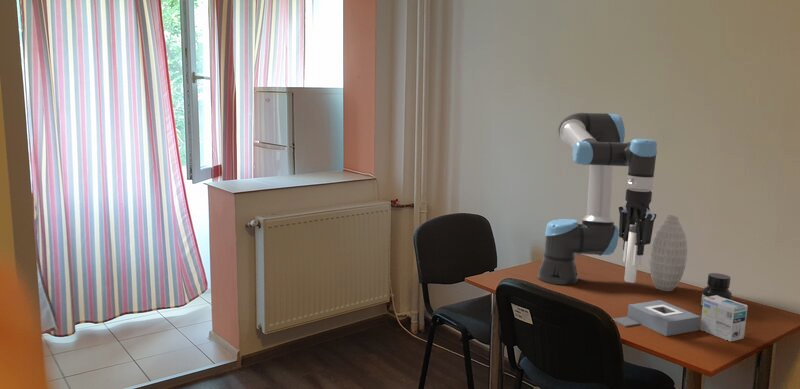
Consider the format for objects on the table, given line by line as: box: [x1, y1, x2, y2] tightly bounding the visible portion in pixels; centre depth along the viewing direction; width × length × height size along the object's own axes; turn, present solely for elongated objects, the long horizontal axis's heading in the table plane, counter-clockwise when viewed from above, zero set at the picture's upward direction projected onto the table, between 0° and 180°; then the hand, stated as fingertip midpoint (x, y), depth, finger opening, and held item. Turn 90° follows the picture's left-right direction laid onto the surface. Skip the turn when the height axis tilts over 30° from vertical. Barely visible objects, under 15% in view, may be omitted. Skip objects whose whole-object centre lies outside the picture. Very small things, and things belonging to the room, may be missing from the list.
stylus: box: [623, 223, 638, 284], centre depth 194 cm, size 4×4×18 cm
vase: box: [648, 214, 688, 292], centre depth 232 cm, size 13×13×28 cm
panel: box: [626, 299, 701, 337], centre depth 198 cm, size 16×14×5 cm
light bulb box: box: [699, 295, 749, 342], centre depth 190 cm, size 11×7×11 cm, turn 29°
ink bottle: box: [700, 272, 733, 308], centre depth 213 cm, size 10×9×12 cm
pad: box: [612, 316, 641, 328], centre depth 198 cm, size 6×6×1 cm
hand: (631, 262), depth 195 cm, fingers closed on stylus, 3 cm apart
